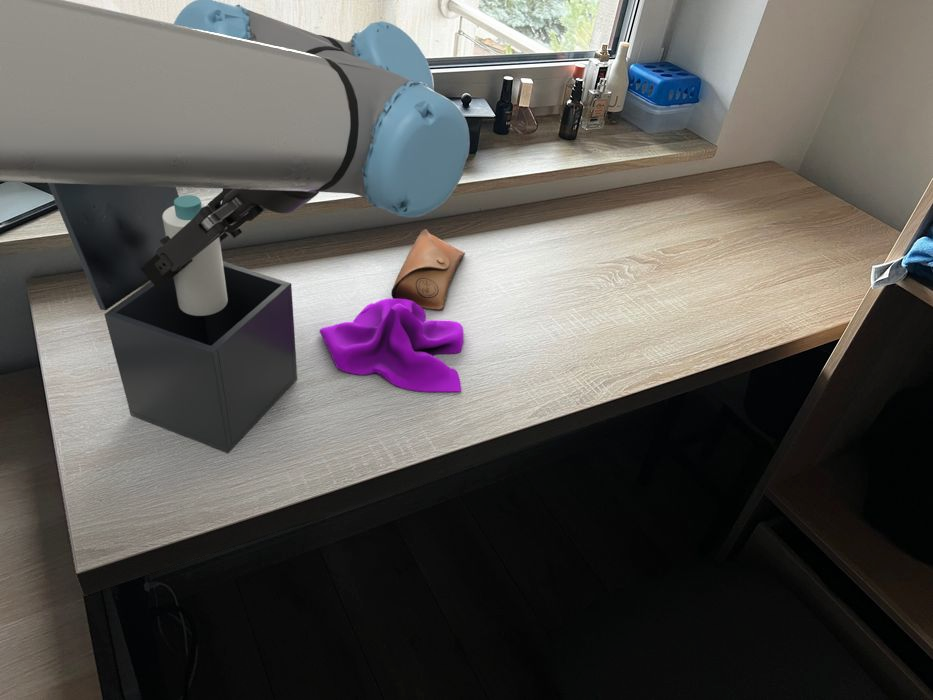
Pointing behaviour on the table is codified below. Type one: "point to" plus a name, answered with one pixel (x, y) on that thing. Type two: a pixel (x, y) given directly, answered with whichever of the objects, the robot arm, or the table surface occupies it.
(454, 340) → the cloth
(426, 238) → the sunglasses case
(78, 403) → the table surface
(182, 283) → the white bottle
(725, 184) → the table surface
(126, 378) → the dark grey open box
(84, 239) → the lid
